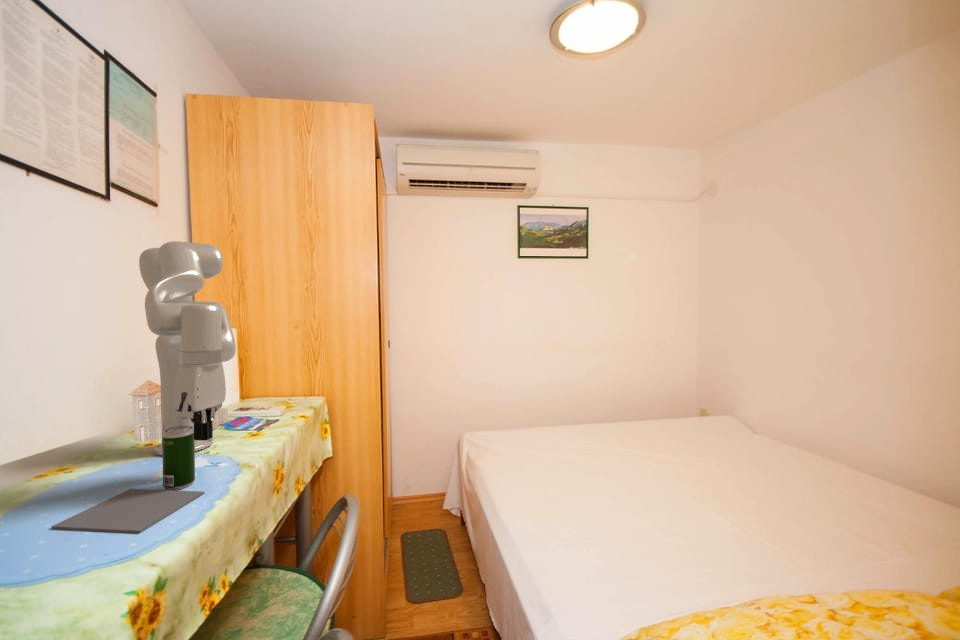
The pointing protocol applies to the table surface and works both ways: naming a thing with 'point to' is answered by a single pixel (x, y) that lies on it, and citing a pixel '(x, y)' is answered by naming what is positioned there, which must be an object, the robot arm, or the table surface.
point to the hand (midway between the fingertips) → (203, 439)
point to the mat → (130, 511)
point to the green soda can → (178, 457)
